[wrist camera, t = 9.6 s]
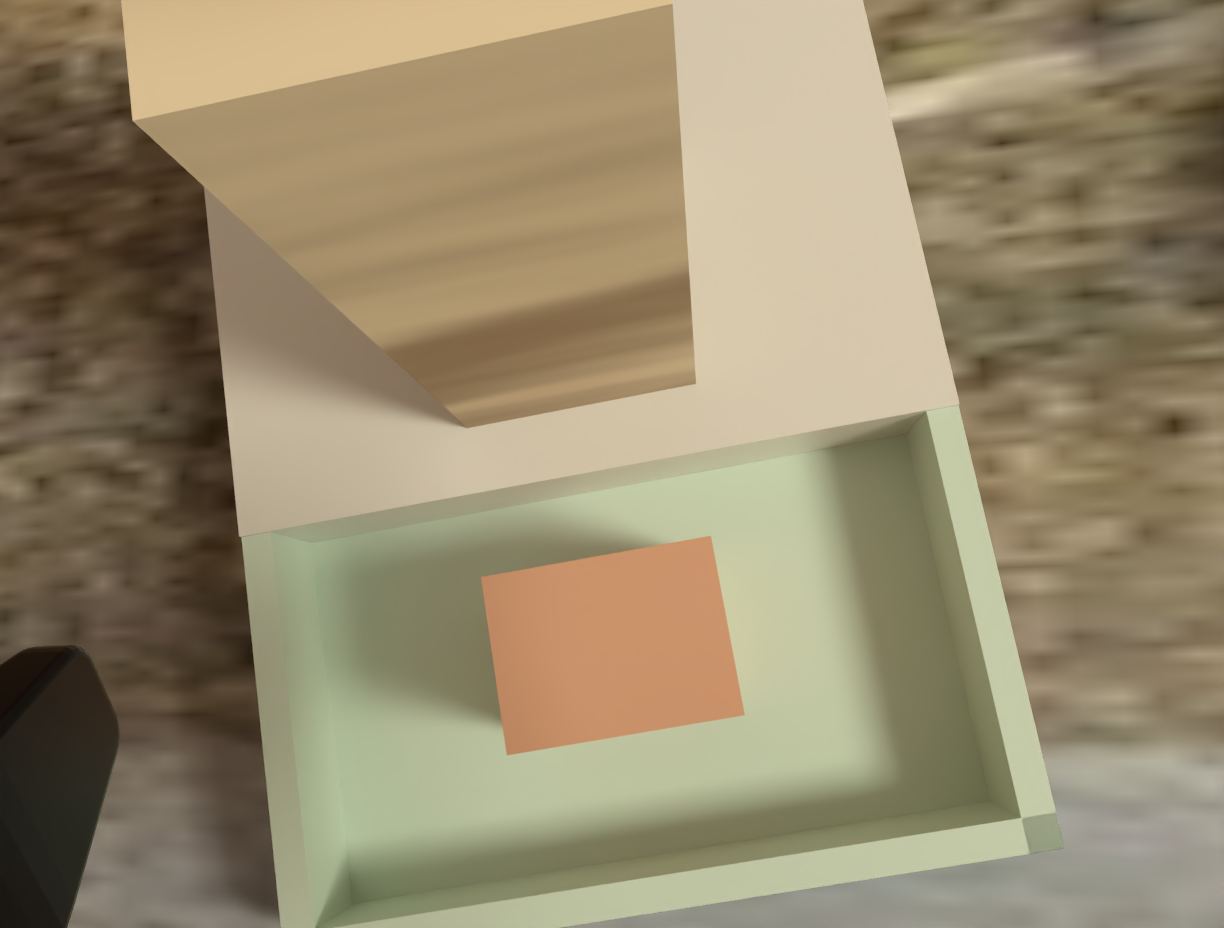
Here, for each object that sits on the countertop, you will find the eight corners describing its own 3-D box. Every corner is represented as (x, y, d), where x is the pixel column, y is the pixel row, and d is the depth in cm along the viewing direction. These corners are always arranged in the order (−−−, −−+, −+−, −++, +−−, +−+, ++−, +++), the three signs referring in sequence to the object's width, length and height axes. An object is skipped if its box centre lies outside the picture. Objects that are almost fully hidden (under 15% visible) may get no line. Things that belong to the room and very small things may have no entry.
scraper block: (696, 384, 20) (672, 4, 8) (467, 428, 20) (132, 121, 9) (654, 169, 21) (577, -451, 9) (435, 214, 21) (91, -331, 9)
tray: (1024, 825, 20) (1064, 848, 18) (332, 935, 21) (285, 970, 19) (932, 432, 22) (958, 405, 20) (290, 549, 23) (241, 537, 20)
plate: (932, 432, 22) (959, 404, 20) (289, 549, 23) (239, 536, 20) (835, 17, 24) (849, -56, 21) (244, 141, 25) (193, 84, 22)
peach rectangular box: (711, 556, 22) (738, 703, 21) (522, 590, 22) (544, 736, 21) (710, 535, 18) (745, 715, 17) (480, 577, 18) (506, 755, 17)
